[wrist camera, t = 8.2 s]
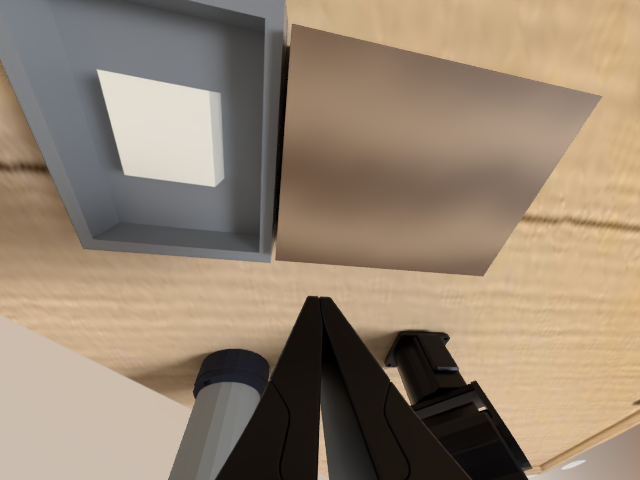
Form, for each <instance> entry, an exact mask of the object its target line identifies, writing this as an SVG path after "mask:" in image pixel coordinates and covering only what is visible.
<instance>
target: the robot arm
mask: <svg viewBox="0 0 640 480" xmlns="http://www.w3.org/2000/svg"><path fill="white" fill-rule="evenodd" d="M449 339H450V337H449V335H448V334H446V333H415V332H401V333H400V334H399V335H398V336H397V338H396V340H395V342H394V344H393V346H392V348H391V350H390V352H389V354H388V356H387V358H386V360H385V366H386V367H397V368H398V371H399V374H400V376H401V379H402V382H403V384H404V387H405V390H406V392H407V395H408V398H409V400H410V403H411V406H409V404H408V403H407V402H406V400H405V399H404V398H403V396H402V395H401V394H400V392H399V391H398V390H397V388H396V387H395V385H394V384H393V383H392V382H390V379H389V377H388V376H387V374H386V373H385V372H384V370H383V369H382V368H381V366H380V365H379V363H378V362H377V361H376V359H375V358H374V357H373V355H372V354H371V352H370V351H369V350H368V348H367V347H366V346H365V344H364V343H363V341H362V340H361V339H360V337H359V336H358V334H357V333H356V332H355V330H354V329H353V328H352V326H351V325H350V323H349V322H348V321H347V319H346V318H345V317H344V315H343V314H342V312H341V311H340V310H339V308H338V307H337V306H336V304H335V303H334V301H333V300H332V299H331V298H330V297H318V296H308V297H307V298H306V301H305V303H304V305H303V307H302V309H301V312H300V314H299V316H298V318H297V320H296V323H295V325H294V327H293V329H292V331H291V334H290V336H289V338H288V340H287V342H286V344H285V347H284V349H283V351H282V353H281V355H280V358H279V360H278V362H277V364H276V366H275V369H274V371H273V373H272V375H271V377H270V381H268V384H267V386H266V388H265V390H264V392H263V395H262V397H261V399H260V401H259V403H258V405H257V407H256V409H255V411H254V413H253V415H252V417H251V418H250V420H249V422H248V424H247V426H246V427H245V429H244V431H243V433H242V434H241V436H240V438H239V440H238V441H237V443H236V445H235V447H234V448H233V450H232V452H231V453H230V455H229V457H228V458H227V460H226V462H225V463H224V465H223V467H222V468H221V470H220V472H219V473H218V475H217V477H216V478H215V480H317V478H318V451H319V425H320V404H321V412H322V421H323V430H324V438H325V447H326V456H327V464H328V473H329V480H528V478H527V477H526V475H525V473H524V472H523V471H525V470H529V469H532V466H531V465H530V463H529V461H528V460H527V458H526V456H525V455H524V453H523V451H522V450H521V448H520V447H519V445H518V444H517V442H516V440H515V439H514V437H513V436H512V434H511V433H510V431H509V430H508V428H507V426H506V425H505V423H504V422H503V420H502V419H501V417H500V416H499V414H498V413H497V411H496V410H495V408H494V407H493V405H492V404H491V402H490V401H489V399H488V398H487V396H486V395H485V393H484V392H483V390H482V389H481V387H480V386H479V384H478V383H477V381H473V382H471V384H468V385H467V384H466V382H465V381H464V379H463V378H462V376H461V374H460V373H459V371H458V370H459V368H458V366H457V364H456V363H455V361H454V359H453V358H452V356H451V354H450V353H449V351H448V350H447V348H446V346H445V345H446V343H447V342H448V341H449ZM484 406H485V408H486V409H485V410H482V411H480V412H479V410H478V408H481V407H484Z"/></svg>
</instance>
